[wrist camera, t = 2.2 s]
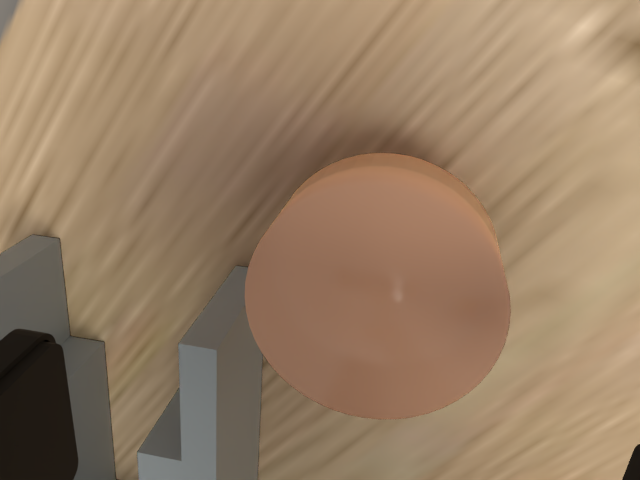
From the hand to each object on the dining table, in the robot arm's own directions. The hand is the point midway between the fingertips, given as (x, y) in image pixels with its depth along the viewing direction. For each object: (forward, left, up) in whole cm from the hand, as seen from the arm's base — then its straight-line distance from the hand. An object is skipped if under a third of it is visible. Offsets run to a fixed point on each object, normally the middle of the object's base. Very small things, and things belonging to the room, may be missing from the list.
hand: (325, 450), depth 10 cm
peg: (-1, 0, -14) cm, 14 cm away
